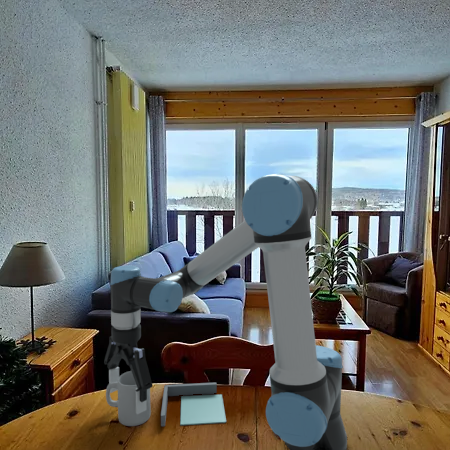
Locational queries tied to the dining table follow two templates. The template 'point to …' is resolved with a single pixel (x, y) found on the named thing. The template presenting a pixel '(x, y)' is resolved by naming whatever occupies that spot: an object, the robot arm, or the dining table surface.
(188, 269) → the robot arm
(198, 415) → the mat
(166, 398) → the gray corner wall
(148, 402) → the mug
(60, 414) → the dining table surface
